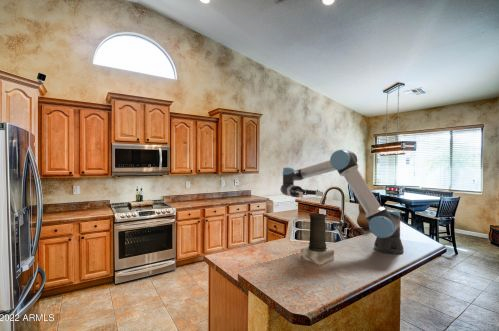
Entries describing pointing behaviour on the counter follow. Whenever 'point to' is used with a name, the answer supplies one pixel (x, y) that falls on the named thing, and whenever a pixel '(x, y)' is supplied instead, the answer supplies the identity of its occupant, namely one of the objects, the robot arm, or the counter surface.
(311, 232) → the container
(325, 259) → the stand
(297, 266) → the counter surface
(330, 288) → the counter surface
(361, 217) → the butternut squash
